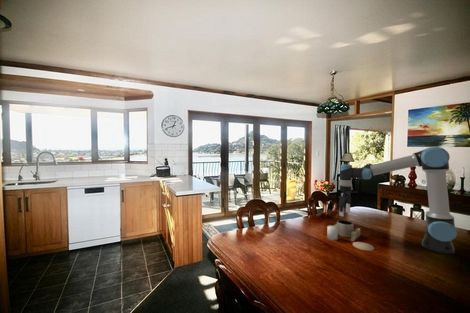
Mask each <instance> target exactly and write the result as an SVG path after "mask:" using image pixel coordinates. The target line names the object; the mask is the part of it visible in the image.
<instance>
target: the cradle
mask: <svg viewBox="0 0 470 313" xmlns="http://www.w3.org/2000/svg"><path fill="white" fill-rule="evenodd" d="M332 226H336V227H337V223H335V224H334V225H332ZM359 237H361V228H359V227H358V228H357V227H356V228H355V229H353V232H352V233H351V237H350V240H351V241H352V242H356V240H358V238H359Z"/></svg>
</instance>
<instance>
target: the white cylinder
mask: <svg viewBox="0 0 470 313" xmlns="http://www.w3.org/2000/svg"><path fill="white" fill-rule="evenodd" d="M326 229H327V230H326V233H327V234H326V239H328V240H330V241H338V240H339V235H338V227H336V226H333V225H327V227H326Z"/></svg>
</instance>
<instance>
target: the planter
mask: <svg viewBox="0 0 470 313" xmlns="http://www.w3.org/2000/svg"><path fill="white" fill-rule="evenodd" d="M336 224H337V227H338V237H342V238H348V239H349V238H350V239H351V233H352V232H353V231H354V222H352V221H351V220H345V219H338V220H337V221H336Z"/></svg>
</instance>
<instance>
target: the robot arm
mask: <svg viewBox="0 0 470 313" xmlns="http://www.w3.org/2000/svg"><path fill="white" fill-rule="evenodd" d="M450 156H451V155H450V153H449V152H448V150H446V149H445V148H443V147H440V146H429V147H426V148H425V149H422V150H420V151H416V152H413V153H412V155H406V156H403V157H399V158H395V159H391V160H387V161H382V162H379V163H376V164H375V163H374V164H371V165H367V166H362V167H353V166H352V164H341V165H340V171H339V191H341V192H340V193H339V194H340V195H339V200H338V205H337V207H339V208H338V210H339V211H338V213H339V214H338V216H340V217H344V215H345V213H348V214H349V213H351V205H352V197H351V192H352V179H358V180H361V179H362V180H370V179H371V178H372V176H377V175H380V174H386V173H391V172H394V171H399V170H404V169H408V168H413V167H418V168H421V169H422V171H423V172H425V177H426V189H427V198H428V209H429V210H428V211H426V212H425V234H424V236H423V238H422V241H421V246H422V247H423V248H425V249H427V250H428V251H432V252H436V253H439V254H447V255H452V254H455V253H456V252H455V251H456V249H455V246H454V243H453V242H452V241H453V240H455V239H456V237H457V235H458V231H457V229H456V226H455V224H456V223H455V217H454V216H453V215H452V214H451V213H450V212H451V211H450V204H449V203H450V202H449V201H450V200H449V193H448V192H449V191H448V183H447V172H448V171H449V170H450V163H449V161H450V158H451V157H450Z"/></svg>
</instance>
